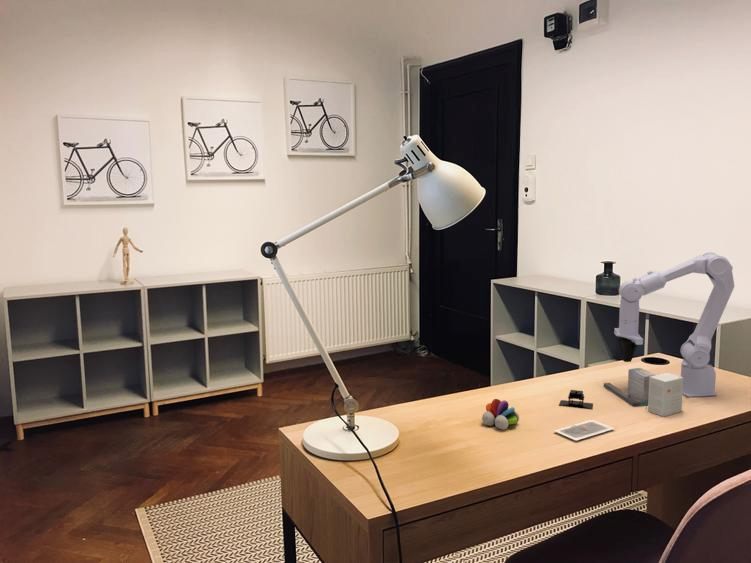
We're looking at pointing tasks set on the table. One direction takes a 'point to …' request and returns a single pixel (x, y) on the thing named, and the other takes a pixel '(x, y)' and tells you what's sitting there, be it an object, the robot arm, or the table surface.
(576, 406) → the black ring bracket
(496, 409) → the bunch of balls
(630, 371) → the medicine box
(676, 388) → the small box
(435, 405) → the table surface
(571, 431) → the touchpad
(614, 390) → the track
